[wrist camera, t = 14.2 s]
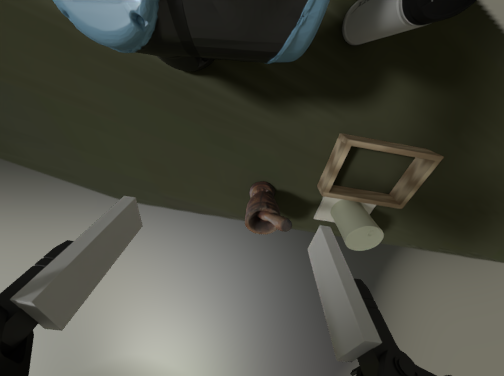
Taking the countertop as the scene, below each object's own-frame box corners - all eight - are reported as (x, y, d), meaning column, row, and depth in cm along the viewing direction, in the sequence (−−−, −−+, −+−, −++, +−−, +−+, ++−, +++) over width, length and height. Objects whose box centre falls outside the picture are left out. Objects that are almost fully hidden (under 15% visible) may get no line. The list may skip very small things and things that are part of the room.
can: (367, 200, 53) (393, 230, 43) (352, 223, 58) (372, 254, 48) (338, 195, 52) (356, 224, 42) (325, 218, 57) (339, 249, 47)
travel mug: (382, 31, 33) (511, -13, 16) (345, 52, 35) (425, 33, 18) (377, -12, 30) (527, -121, 13) (337, 14, 32) (423, -52, 15)
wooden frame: (340, 133, 43) (348, 139, 39) (426, 148, 44) (444, 156, 40) (317, 186, 51) (322, 196, 47) (390, 198, 53) (401, 209, 48)
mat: (326, 190, 52) (327, 191, 51) (378, 198, 53) (379, 199, 52) (313, 217, 58) (314, 219, 57) (360, 224, 59) (361, 226, 58)
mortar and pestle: (257, 166, 49) (255, 215, 32) (286, 175, 50) (299, 227, 33) (244, 198, 55) (237, 253, 38) (270, 205, 56) (275, 262, 39)
